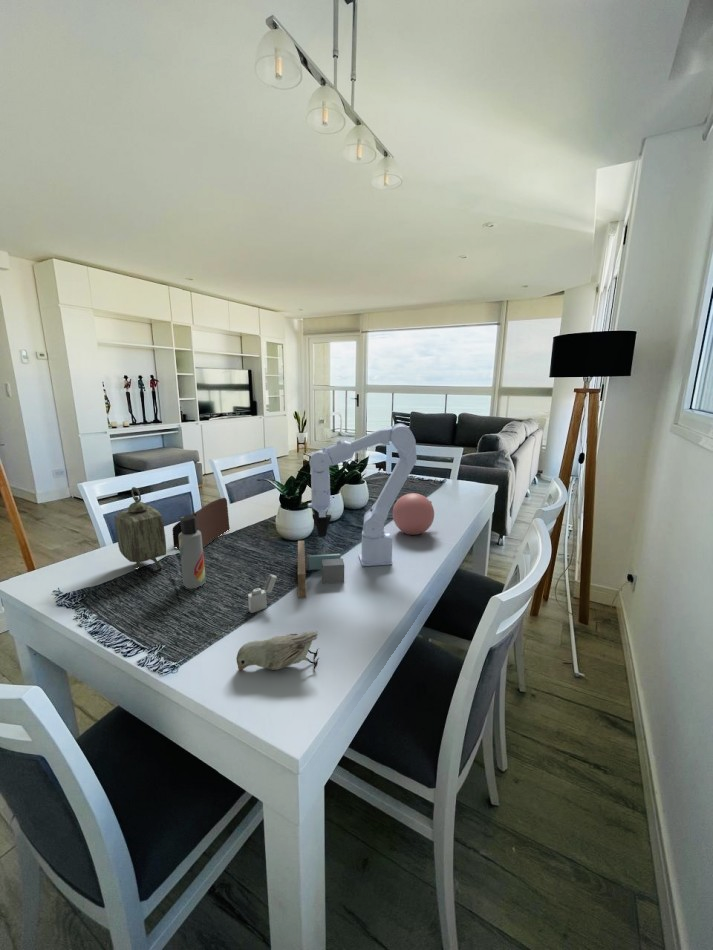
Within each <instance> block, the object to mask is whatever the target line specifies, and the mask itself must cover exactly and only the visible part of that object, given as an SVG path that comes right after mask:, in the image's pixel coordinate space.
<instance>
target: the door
mask: <svg viewBox="0 0 713 950" xmlns="http://www.w3.org/2000/svg"><path fill="white" fill-rule="evenodd" d="M324 559H341V553H327V554H312V555H310V554H307V555H306V554H305V571H312V570H322V560H324Z"/></svg>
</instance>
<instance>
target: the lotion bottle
mask: <svg viewBox="0 0 713 950" xmlns="http://www.w3.org/2000/svg"><path fill="white" fill-rule="evenodd" d="M179 519H180V521H181V530H182V532H181V533H180V534H179V535H178V538H179V547H180V549H179V556H180V563H181V564H180V565H181V572H182V573H181V574H182V583H183V586H185V587H187V588H196V589H198V588H197V587H199V586H201V587H203V586H204V585H205V584H206V569H205V559H204V550H203V549H204V548H203V547H202V537H201V532H200V531H199V530H197V523H196V517H194V515H192V514H186V515H183V516H181V517H180V518H179ZM204 583H205V584H204ZM203 584H204V585H203ZM202 585H203V586H202ZM185 587H184V588H185ZM187 588H186V589H187ZM199 588H200V587H199Z"/></svg>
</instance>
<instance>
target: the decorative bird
mask: <svg viewBox="0 0 713 950" xmlns="http://www.w3.org/2000/svg"><path fill="white" fill-rule="evenodd" d="M318 634H319V631H318V630H314V631H313V630H312V631H308V632H307V631H305V632H302V633H291V634H290V633H289V634H285V635H284V634H283V635H277V636H274V637H271V638H268V639H264V640H263V639H262V640H253V641H248V642H246V643H245V644H243V645H242V646H241V647H240V648H239V649H238V652H237V655H236V664H237V669H238V670H239V671H242V670H244V669H245V668H248V667H250V666H258V667H261V668H266V669H269V670H273V671H278V670H281V669H282V668H285V667H288V666H292V665H295V664H299V663H301V661H306V662H309V664H312V665H313V671H314V673H316V671H315V670H316V667H317V666H318V664H319V663H318V661H319V659H320V657H318V658H317V656H318V653H319V652H318V651H319V649H320V648H319V647H318V648H317V649H316V651H315V652H313V651H311V650H310V648H311V645H312V644H313V641H315V640H317V639H318ZM308 652H309V654H312V655H313V661H311V659H309V658H308V657H307V655H308ZM316 658H317V659H316ZM315 659H316V661H315Z"/></svg>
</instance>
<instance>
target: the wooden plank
mask: <svg viewBox="0 0 713 950" xmlns="http://www.w3.org/2000/svg"><path fill="white" fill-rule="evenodd" d="M305 548H306V547H305V540H298V541H297V591H298V593H297V595H298V597H297V598H298V599H300V598H302V599H303V598H307V588H306V586H307V582H306V552H305Z"/></svg>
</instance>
